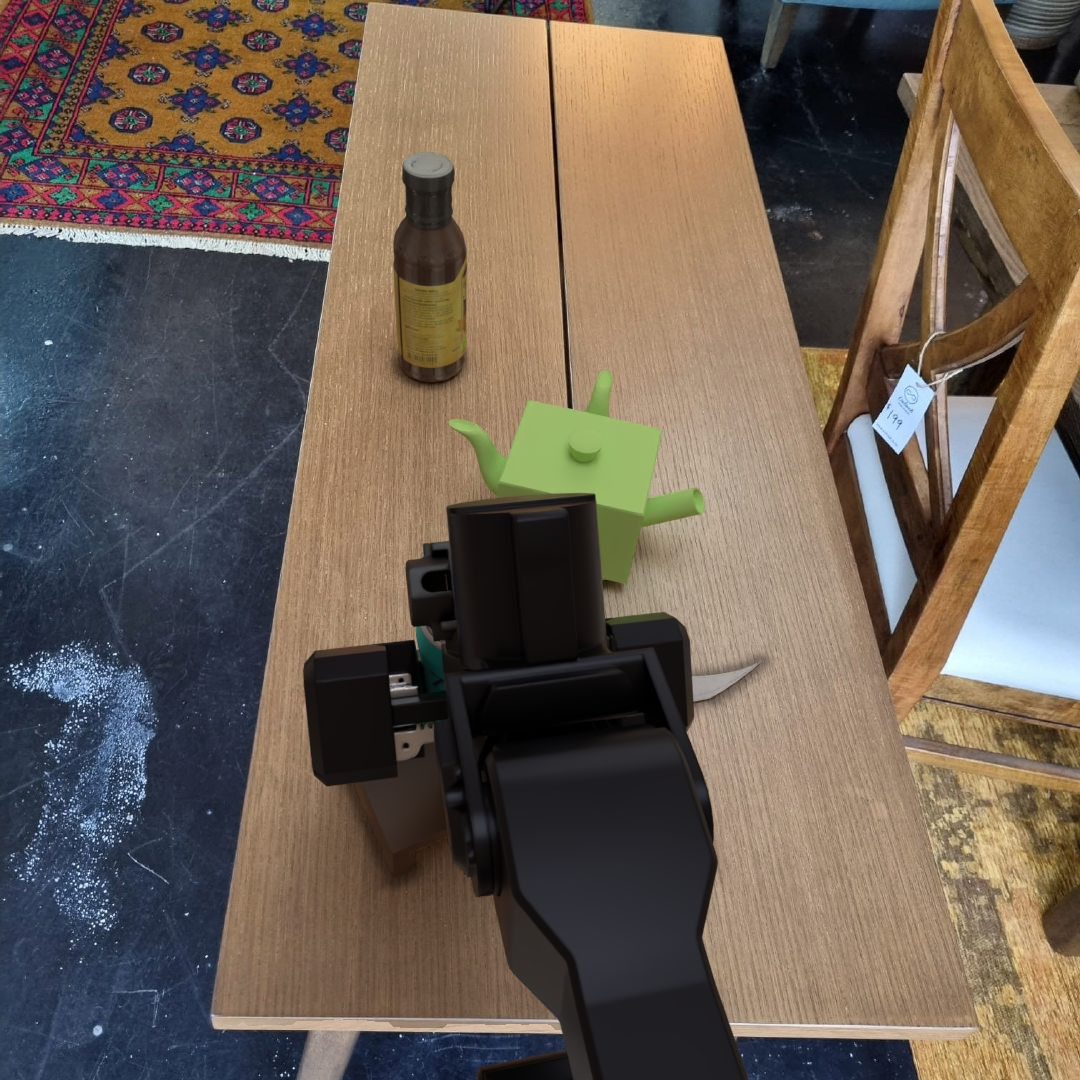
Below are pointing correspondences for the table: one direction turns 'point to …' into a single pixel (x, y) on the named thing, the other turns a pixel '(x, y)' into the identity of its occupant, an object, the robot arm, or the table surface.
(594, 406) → the kettle
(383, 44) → the table surface
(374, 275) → the table surface
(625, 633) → the robot arm
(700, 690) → the knife
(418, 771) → the brown toy chair
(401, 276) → the sauce bottle
